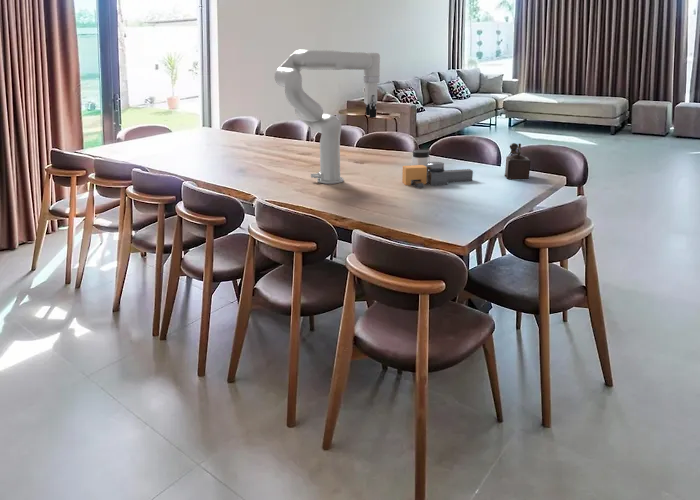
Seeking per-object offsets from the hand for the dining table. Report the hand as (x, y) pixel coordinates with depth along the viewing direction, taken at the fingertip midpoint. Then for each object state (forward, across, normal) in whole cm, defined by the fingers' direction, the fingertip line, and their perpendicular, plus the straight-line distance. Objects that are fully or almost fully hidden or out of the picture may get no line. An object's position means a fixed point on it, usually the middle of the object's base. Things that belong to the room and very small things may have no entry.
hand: (370, 116), depth 304 cm
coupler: (+29, +19, +31) cm, 46 cm away
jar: (+29, +3, +25) cm, 38 cm away
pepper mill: (+28, +19, +69) cm, 77 cm away
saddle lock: (+29, +20, +18) cm, 39 cm away
